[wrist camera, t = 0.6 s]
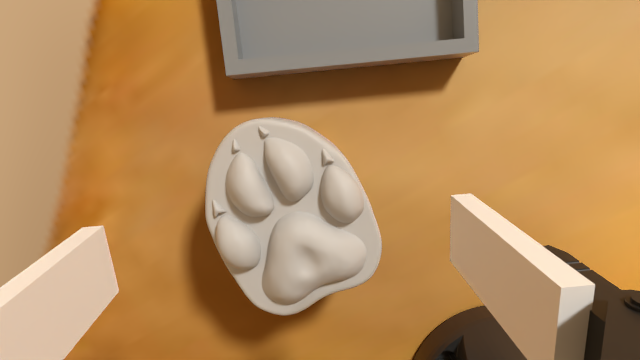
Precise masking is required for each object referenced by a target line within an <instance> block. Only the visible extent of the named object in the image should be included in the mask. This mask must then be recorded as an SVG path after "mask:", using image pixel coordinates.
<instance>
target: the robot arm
mask: <svg viewBox="0 0 640 360" xmlns="http://www.w3.org/2000/svg"><path fill="white" fill-rule="evenodd" d="M450 261H451V263H452V264H453V265H454V266H455V268H456V269H457V270H458V272H459V273H460V274H461V275H462V277H463V278H464V279H465V281H466V282H467V283H468V284H469V286H470V287H471V288H472V290H473V291H474V292H475V293H476V295H477V296H478V297H479V298H480V300H481V301H482V302H483V304H484V305H485V306H480V307H476V308H472V309H469V310H466V311H463V312H461V313H459V314H457V315H455V316H453V317H451V318H450V319H448V320H446V321H445V322H443V323H442V324H441V325H440V326H438V327H437V328H436V329H435V330H434V331H433V332H432V333H431V334H430V335H429V336H428V337H427V338H426V340H425V341H424V342H423V344H422V345H421V346H420V348H419V350H418V351H417V353H416V355H415V357H414V360H640V291H636V290H621V289H619V288H618V287H616V286H615V285H613V284H612V283H610V282H609V281H607V280H606V279H605V278H603V277H602V276H600V275H599V274H597V273H596V272H594V271H593V270H590V268H589V267H587V266H586V265H584V264H583V263H579V261H578V260H577V259H576V258H574V257H573V256H571V255H570V254H568V253H567V252H565V251H562V250H559V249H557V248H554V247H552V246H549V245H547V246H542V245H540V244H539V243H538V242H536V241H535V240H534V239H532V238H531V237H529V236H528V235H527V234H525V233H524V232H523V231H521V230H520V229H519V228H517V227H516V226H514V225H513V224H512V223H510V222H509V221H508V220H506V219H505V218H503V217H502V216H501V215H499V214H498V213H497V212H495V211H494V210H493V209H491V208H490V207H488V206H487V205H486V204H484V203H483V202H482V201H480V200H479V199H477V198H476V197H475V196H473V195H472V194H460V195H451V225H450ZM118 292H119V288H118V284H117V280H116V276H115V272H114V268H113V263H112V259H111V255H110V251H109V247H108V243H107V239H106V234H105V230H104V226H94V227H83V228H81V229H80V230H78V231H77V232H76V233H74V234H73V235H72V236H70V237H69V238H68V239H66V240H65V241H63V242H62V243H61V244H59V245H58V246H57V247H55V248H54V249H52V250H51V251H50V252H48V253H47V254H46V255H44V256H43V257H42V258H40V259H39V260H37V261H36V262H35V263H33V264H32V265H31V266H29V267H28V268H26V269H25V270H24V271H22V272H21V273H20V274H18V275H17V276H16V277H14V278H13V279H11V280H10V281H9V282H7V283H6V284H5V285H3V286H2V287H0V360H63V359H64V358H65V357H66V356H67V354H68V353H69V352H70V351H71V350H72V348H73V347H74V346H75V345H76V343H77V342H78V341H79V340H80V338H81V337H82V336H83V335H84V334H85V332H86V331H87V330H88V329H89V327H90V326H91V325H92V324H93V322H94V321H95V320H96V319H97V318H98V316H99V315H100V314H101V313H102V311H103V310H104V309H105V308H106V306H107V305H108V304H109V303H110V302H111V300H112V299H113V298H114V297H115V295H116V294H117V293H118Z"/></svg>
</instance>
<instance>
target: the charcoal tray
mask: <svg viewBox="0 0 640 360" xmlns="http://www.w3.org/2000/svg"><path fill="white" fill-rule="evenodd" d="M216 2H217V9H218V17H219V25H220V33H221V40H222V48H223V56H224V63H225V71H226V76H228V77H230V78H232V79H243V78H253V77H264V76H274V75H285V74H295V73H306V72H316V71H327V70H337V69H348V68H358V67H369V66H379V65H390V64H400V63H411V62H421V61H432V60H442V59H453V58H463V57H465V56H468V55H471V54H474V53H476V52H479V37H478V2H477V0H216Z"/></svg>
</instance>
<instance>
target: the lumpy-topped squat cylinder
mask: <svg viewBox="0 0 640 360" xmlns="http://www.w3.org/2000/svg"><path fill="white" fill-rule="evenodd" d="M205 216H206V222H207V225H208V228H209V231H210V233H211V236H212V238H213V241H214V243H215V246H216V248H217V250H218V252H219V254H220V256H221V258H222V260H223V261H224V263H225V265H226V267H227V268H228V270H229V272H230V273H231V275H232V276H233V277H234V279H235V280H236V282H237V283H238V285H239V287H240V288H241V289H242V291H243V292H244V294H245V295H246V296H247V297H248V299H249V300H250V301H251V302H252V303H253V304H254V305H255V306H257V307H258V308H260V309H262V310H264V311H266V312H269V313H272V314H276V315H284V316H286V315H293V314H296V313H299V312H301V311H303V310H305V309H307V308H308V307H309V306H311V305H312V304H314V303H315V302H317V301H318V300H320V299H322V298H323V297H325V296H327V295H330V294H332V293H335V292H338V291H343V290H346V289H350V288H353V287H356V286H358V285H361V284H363V283H364V282H366V281H367V280H368V279H370V278H371V276H372V275H373V274H374V272H375V271H376V269H377V267H378V264H379V261H380V257H381V251H382V242H381V235H380V231H379V228H378V225H377V222H376V219H375V216H374V213H373V210H372V207H371V204H370V202H369V200H368V197H367V195H366V193H365V191H364V189H363V187H362V185H361V183H360V181H359V179H358V177H357V175H356V173H355V172H354V170H353V168H352V166H351V165H350V163H349V162H348V160H347V159H346V157H345V156H344V155H343V154H342V153H341V152H340V151H339V149H338V148H337V147H336V146H335V145H334V144H333V143H332V142H331V141H329V140H328V139H327V138H325V137H324V136H322V135H321V134H320V133H318V132H317V131H315V130H313V129H312V128H310V127H308V126H307V125H305V124H302V123H300V122H297V121H293V120H289V119H285V118H276V117H270V118H260V119H254V120H250V121H247V122H244V123H242V124H240V125H238V126H237V127H235V128H234V129H232V130H231V131H230V132H229V133H228V134H227V135H226V136H225V137H224V139H223V140H222V142H221V143H220V145H219V146H218V148H217V150H216V152H215V154H214V156H213V159H212V161H211V163H210V166H209V170H208V174H207V181H206V192H205Z"/></svg>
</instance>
